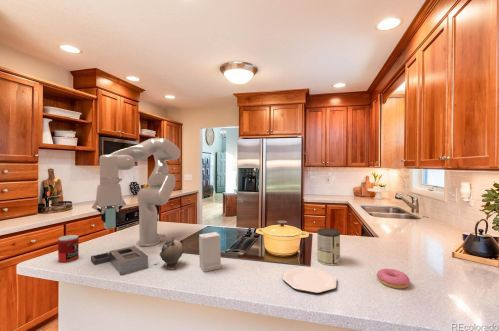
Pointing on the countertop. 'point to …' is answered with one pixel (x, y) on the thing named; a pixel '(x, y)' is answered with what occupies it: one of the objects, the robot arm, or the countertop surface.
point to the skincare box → (209, 251)
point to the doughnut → (393, 278)
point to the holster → (100, 258)
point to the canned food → (68, 248)
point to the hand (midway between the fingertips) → (109, 220)
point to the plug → (110, 217)
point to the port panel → (128, 259)
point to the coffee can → (328, 246)
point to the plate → (310, 280)
